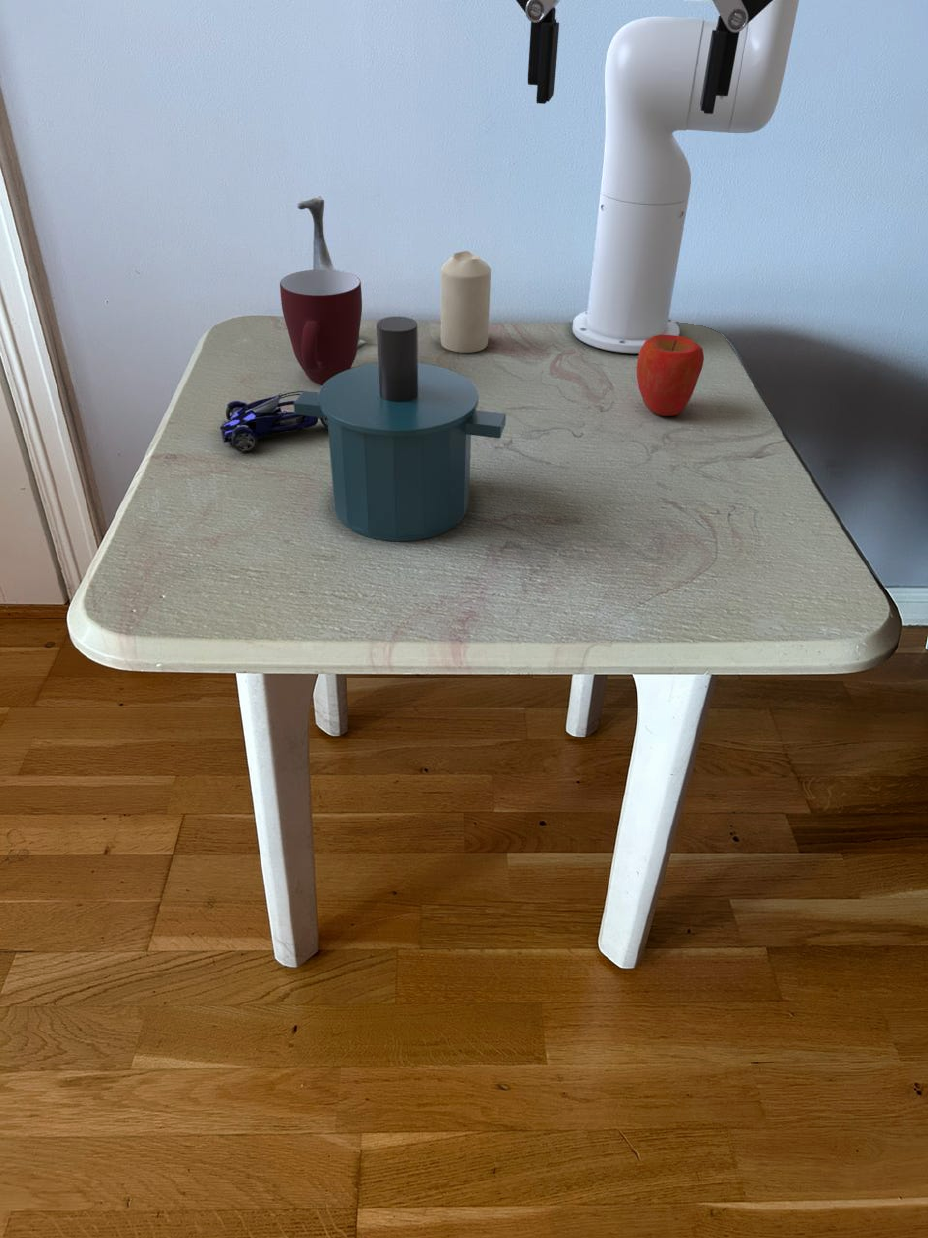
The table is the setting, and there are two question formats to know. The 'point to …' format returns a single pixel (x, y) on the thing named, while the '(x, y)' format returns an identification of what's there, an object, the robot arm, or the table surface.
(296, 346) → the mug
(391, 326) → the lid
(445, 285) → the candle
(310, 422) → the toy car
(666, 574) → the table surface
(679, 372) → the apple
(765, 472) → the table surface
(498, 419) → the pot
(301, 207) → the figurine
